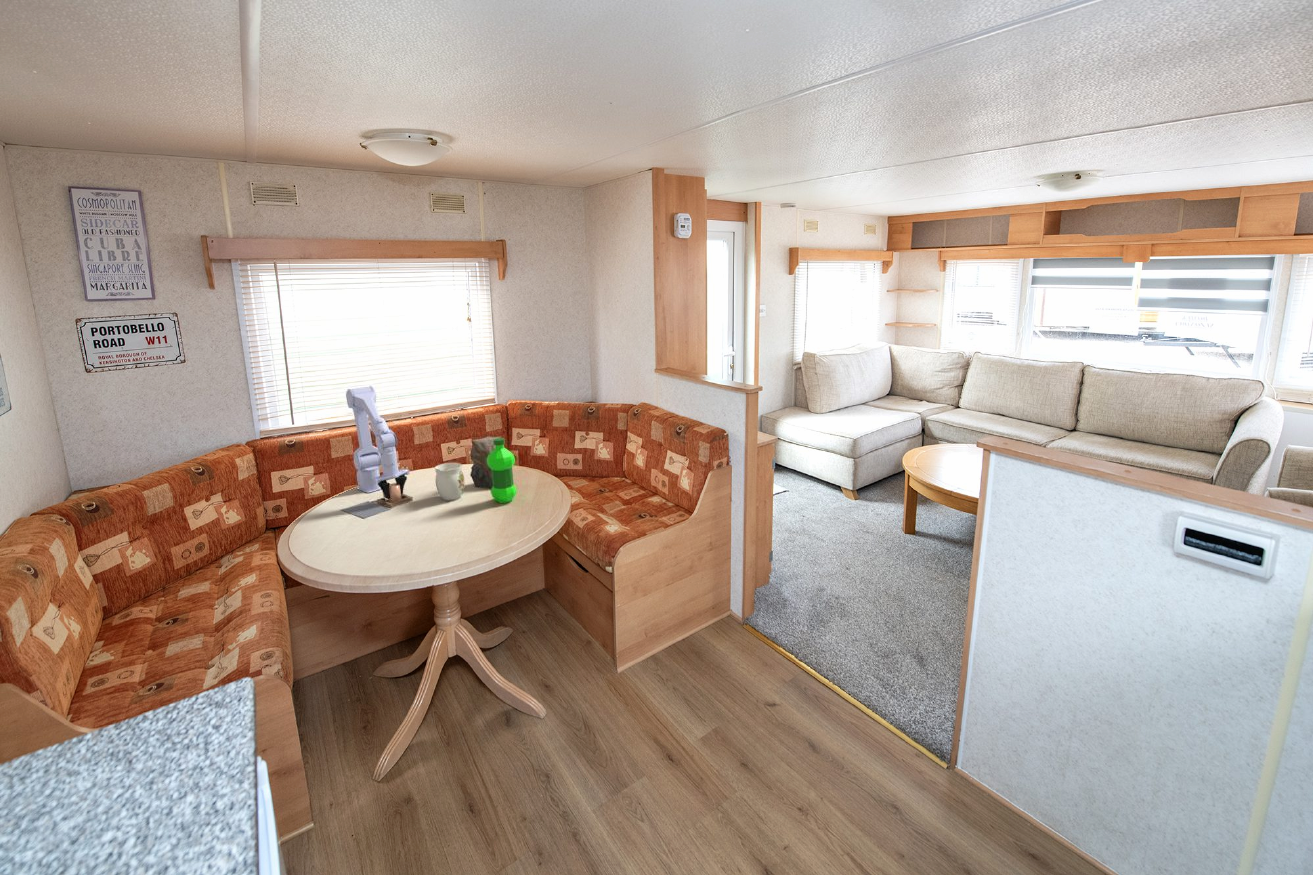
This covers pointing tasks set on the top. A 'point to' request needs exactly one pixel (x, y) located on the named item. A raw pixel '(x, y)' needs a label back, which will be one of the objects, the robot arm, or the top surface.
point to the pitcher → (450, 480)
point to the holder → (404, 500)
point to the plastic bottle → (502, 472)
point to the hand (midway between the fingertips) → (394, 496)
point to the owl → (482, 462)
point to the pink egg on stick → (394, 493)
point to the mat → (365, 509)
